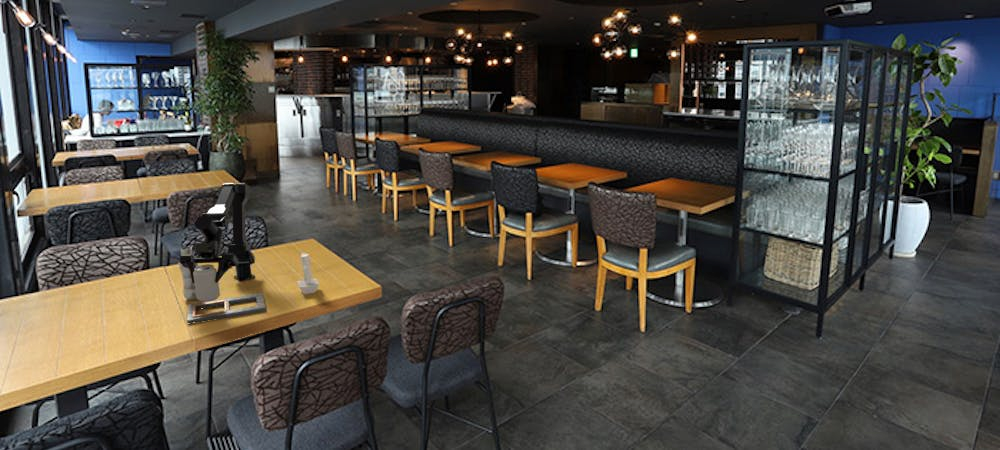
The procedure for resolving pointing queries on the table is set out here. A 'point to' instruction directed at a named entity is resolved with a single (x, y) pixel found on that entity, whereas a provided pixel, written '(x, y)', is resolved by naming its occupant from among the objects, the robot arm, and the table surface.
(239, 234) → the robot arm
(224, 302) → the rail plate
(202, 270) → the can
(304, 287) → the figurine
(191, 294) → the plastic bottle
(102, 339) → the table surface
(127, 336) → the table surface
